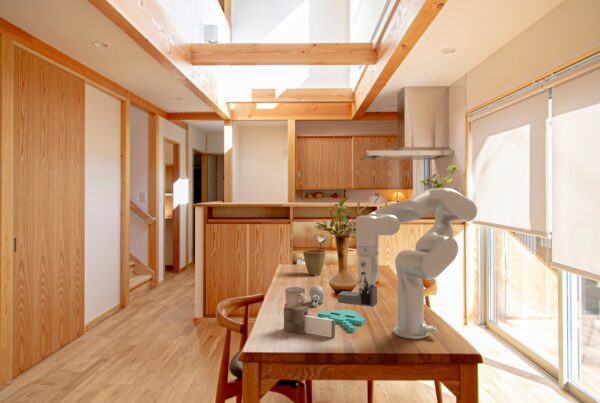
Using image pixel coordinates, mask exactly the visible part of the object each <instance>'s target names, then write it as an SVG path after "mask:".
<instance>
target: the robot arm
mask: <svg viewBox="0 0 600 403" xmlns="http://www.w3.org/2000/svg"><path fill="white" fill-rule="evenodd" d="M432 212H434V224H433V226H432V227H431V228H430V229H429V230H428V231H426V232H425V233H424V234H423V235H422V236H421V237H420V238H419V239H418V240H417V241H416V242H415V243H416V244H415V248H414V250H413V249H403V250H401V251H399V252H398V253H397V254H396V257H395V259H394V260H395V261H394V266H395V271H396V277H397V278H396V279H397V325H396V326H394V327H393V329H392V330H393V333H394V334H395V335H396V336H398V337H400V338H404V339H407V340H409V339H410V340H421V339H425V338H427V337H428V336H429V333H431V334H436V333H437V327H434V326H433V325H427V324H426V321H425V320H424V319H425V313H424V312H425V306H424V304H425V302H424V300H425V287H424V282H423V280H428V281H432V280H434V279H436V278H438V277H439V276H440V275H441V274H442V273H443V272H444V271H445V270H446V269H447V268H448V267H449V266H450V265H451V264H452V263H453V262H454V261H455V259H456V257H457V255H458V253H459V245H458V243H457V240H456V239H454V238H453V237H454V229H453V225H452V222H464V223H467V222H472V221H473V220H475V219H476V216H477V215H478V208H477V205H476V203H475V202H474V201H473V200H472V199H471V198H468V197H467V196H465V195H464V194H461V193H460V192H458V191H457V190H454V189H453V188H447V187H441V188H438V187H437V188H429V189H425V190H424V191H421V192H419V193H417V194H415V195H414V196H410V197H408V198H407V199H404V200H402V201H398V202H396V203H392V204H388V205H385V206H383V207H380V208H378V209H376V210H374V211H372V212H370V213H368V214H366V215H358V216H357V217H356V219H355V232H356V234H355V236H356V256H358V261H357V264H358V265H357V266H358V267H357V279H358V281H357V282H358V284H359V288H361V304H366V305H370V304H371V301H370V293H369V290H370V286H376V284H375V283H377V282H378V281H379V278H380V275H379V260H378V256H379V236H393V235H395V234H397V233H398V232H399V230H400V228H401V223H408V222H414V221H417V220H419V219H421V218H424V217H425V216H427V215H429V214H430V213H432ZM365 286H367V288H366V287H365Z"/></svg>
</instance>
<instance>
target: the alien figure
mask: <svg viewBox="0 0 600 403" xmlns="http://www.w3.org/2000/svg"><path fill="white" fill-rule="evenodd" d="M317 317H319V318H326V319H332V320H333V319H334V320H335V324H340V325H341V327H343V328H344V330H347V332H348V333H354V332H356V326H360V327H361V326H364V325H365V324H366V322H367V319H366V318H365V317H363V315H360V313H358V312H357V311H356V310H348V309H341V310H339V309H335V310H327V311H325V310H321V311H320V312H318V313H317ZM355 325H356V326H355Z"/></svg>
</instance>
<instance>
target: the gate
mask: <svg viewBox="0 0 600 403" xmlns="http://www.w3.org/2000/svg"><path fill="white" fill-rule="evenodd" d="M304 333H309V334H314V335H320V336H326V337H331V338H335V336H336V323H335V320H334V319H333V320H332V319H326V318H319V317H318V316H311V315H308V316H306V315H304Z"/></svg>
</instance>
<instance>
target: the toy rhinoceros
mask: <svg viewBox="0 0 600 403" xmlns="http://www.w3.org/2000/svg"><path fill="white" fill-rule="evenodd" d="M308 294H309V297H310V302H311V306H312V307H313V308H317V307H318V306H319V305H322V304H323V303H324V299H325V290H324V288H323V287H322V286H320V285H313V286H312V287H310V289H309V293H308Z"/></svg>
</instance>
